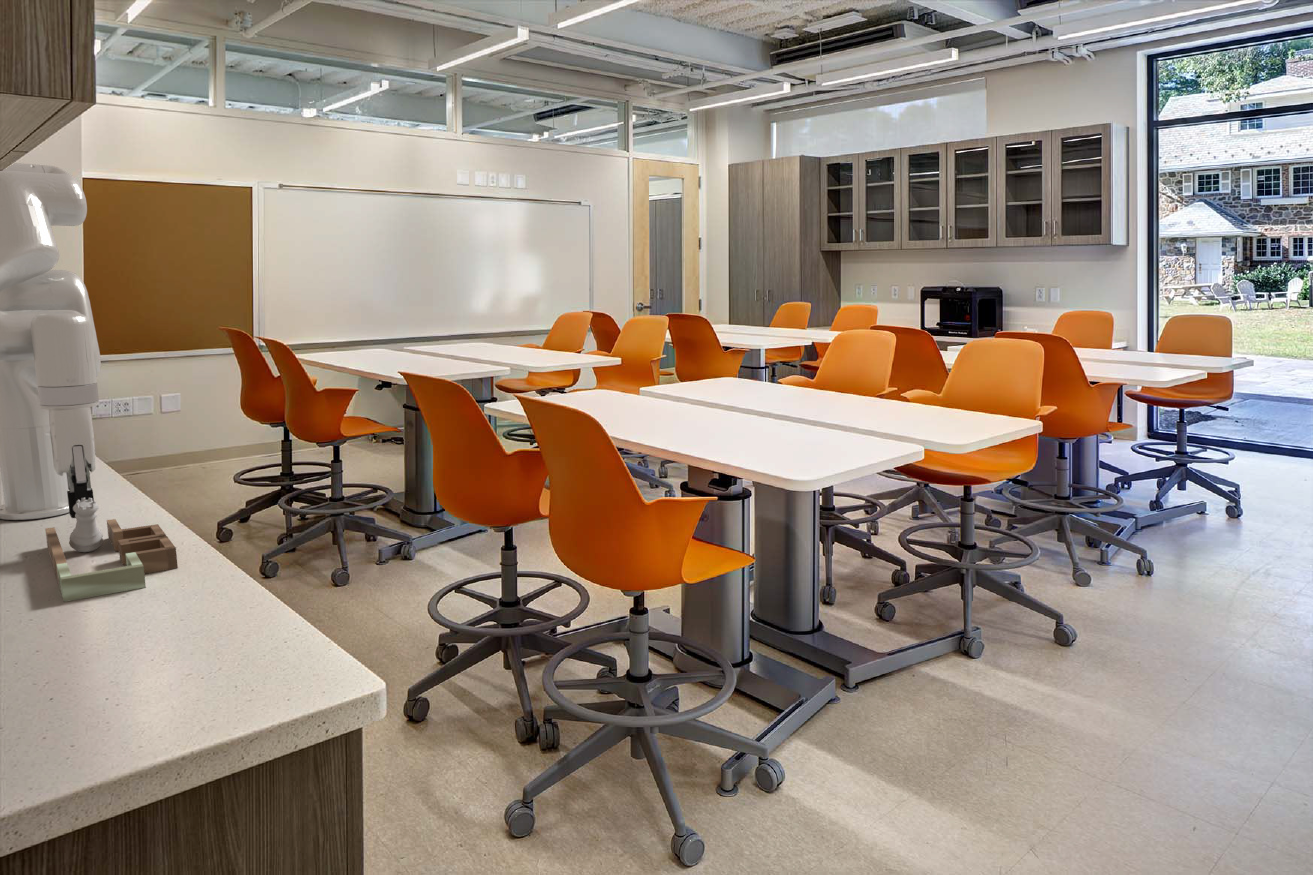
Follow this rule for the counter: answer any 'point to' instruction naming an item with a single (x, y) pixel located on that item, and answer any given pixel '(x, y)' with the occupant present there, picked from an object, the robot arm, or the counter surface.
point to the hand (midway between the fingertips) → (82, 515)
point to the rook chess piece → (85, 527)
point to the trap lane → (136, 549)
